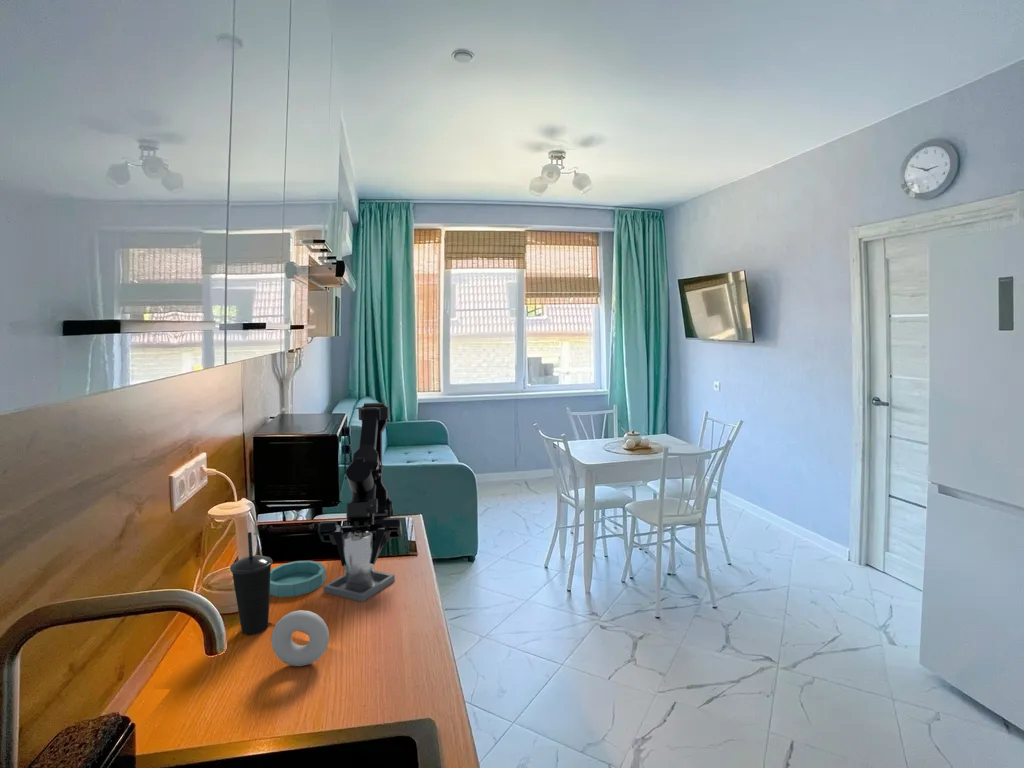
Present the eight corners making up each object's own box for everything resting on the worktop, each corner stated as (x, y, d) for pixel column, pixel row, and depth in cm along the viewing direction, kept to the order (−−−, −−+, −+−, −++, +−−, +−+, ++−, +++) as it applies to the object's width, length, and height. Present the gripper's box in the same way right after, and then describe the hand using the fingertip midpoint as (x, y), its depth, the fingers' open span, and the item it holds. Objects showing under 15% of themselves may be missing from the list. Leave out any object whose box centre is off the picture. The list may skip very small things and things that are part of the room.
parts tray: (357, 575, 135) (357, 566, 135) (394, 583, 130) (394, 575, 130) (324, 595, 125) (323, 586, 125) (362, 605, 120) (362, 595, 120)
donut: (332, 657, 101) (330, 605, 100) (327, 668, 98) (325, 614, 97) (276, 660, 100) (273, 607, 99) (269, 672, 97) (266, 617, 96)
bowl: (297, 570, 138) (296, 557, 138) (336, 580, 132) (336, 566, 132) (253, 593, 126) (252, 578, 126) (294, 604, 121) (293, 589, 120)
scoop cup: (358, 578, 132) (356, 525, 130) (380, 583, 129) (377, 528, 128) (339, 589, 126) (337, 534, 125) (361, 595, 123) (359, 538, 122)
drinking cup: (265, 639, 107) (259, 539, 105) (226, 639, 107) (219, 540, 105) (282, 618, 115) (277, 525, 113) (246, 618, 115) (240, 526, 113)
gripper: (317, 488, 128) (308, 553, 118) (399, 484, 130) (396, 547, 120) (326, 510, 136) (318, 572, 127) (402, 506, 139) (400, 567, 129)
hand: (358, 564), depth 125 cm, fingers closed on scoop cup, 6 cm apart
